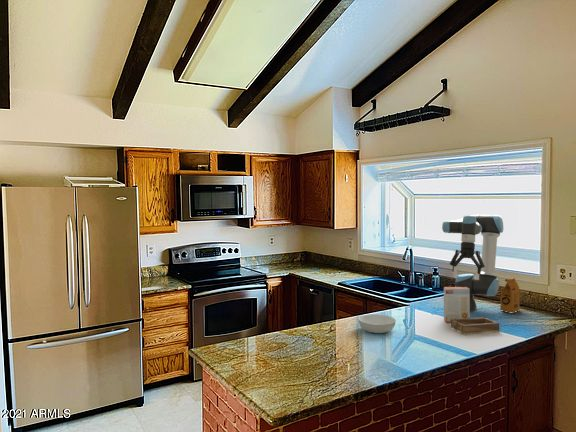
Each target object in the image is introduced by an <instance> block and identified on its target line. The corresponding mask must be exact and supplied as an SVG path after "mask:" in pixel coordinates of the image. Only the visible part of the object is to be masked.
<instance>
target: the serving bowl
mask: <svg viewBox="0 0 576 432" xmlns="http://www.w3.org/2000/svg"><path fill="white" fill-rule="evenodd" d="M357 321H358V324H359V326H360V327H361V329H363V330H365V332H369V333H372V332H373V333H374V334H383V333H389V332H390V331H392V330H393V329H394V327H395V326H396V322H397V320H396V319H395V318H394V317H392V316H389V315H385V314H375V313H374V314H370V313H369V314H363V315H360V316H359V317H358V318H357Z"/></svg>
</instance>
